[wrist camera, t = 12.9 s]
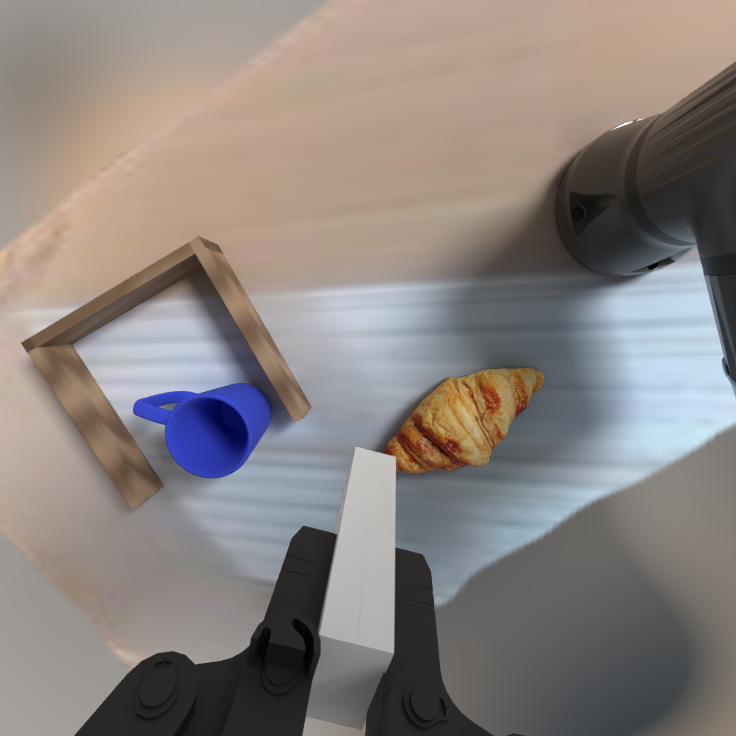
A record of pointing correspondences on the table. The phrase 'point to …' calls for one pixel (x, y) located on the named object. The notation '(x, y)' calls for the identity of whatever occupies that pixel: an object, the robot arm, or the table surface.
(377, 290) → the table surface
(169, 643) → the table surface
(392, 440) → the croissant
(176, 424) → the mug
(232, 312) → the box
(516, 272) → the table surface
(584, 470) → the table surface
